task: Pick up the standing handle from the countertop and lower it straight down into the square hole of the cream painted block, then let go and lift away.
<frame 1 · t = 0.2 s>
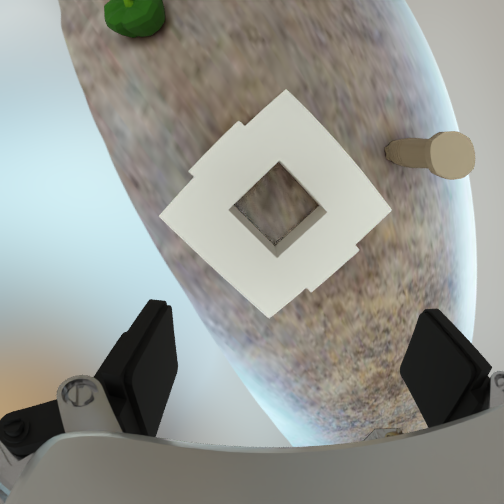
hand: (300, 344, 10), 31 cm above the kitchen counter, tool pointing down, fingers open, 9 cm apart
bell pepper: (148, 23, 30), on the kitchen counter
socket block: (276, 204, 39), on the kitchen counter
handle: (392, 152, 36), on the kitchen counter
coffee box: (381, 434, 56), on the kitchen counter
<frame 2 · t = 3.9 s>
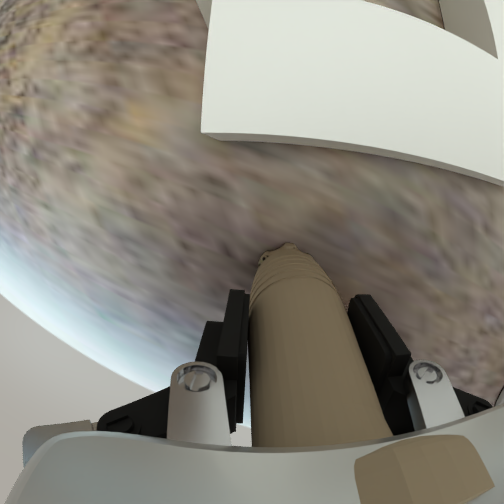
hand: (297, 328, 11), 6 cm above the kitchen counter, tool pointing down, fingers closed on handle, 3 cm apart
socket block: (390, 2, 11), on the kitchen counter
handle: (284, 266, 17), on the kitchen counter, touching gripper
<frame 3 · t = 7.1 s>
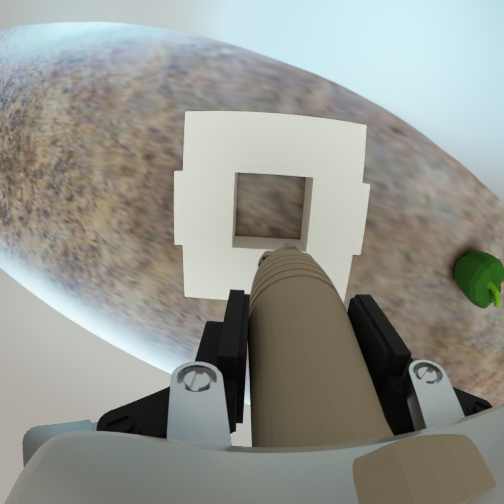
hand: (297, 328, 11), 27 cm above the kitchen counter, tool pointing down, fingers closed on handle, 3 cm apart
bell pepper: (464, 267, 39), on the kitchen counter
socket block: (270, 205, 36), on the kitchen counter
handle: (284, 266, 17), point 21 cm above the kitchen counter, touching gripper
when the fingers open (8 cm above the kitchen counter, at t = 10.5 s): handle drops 1 cm, resting in socket block.
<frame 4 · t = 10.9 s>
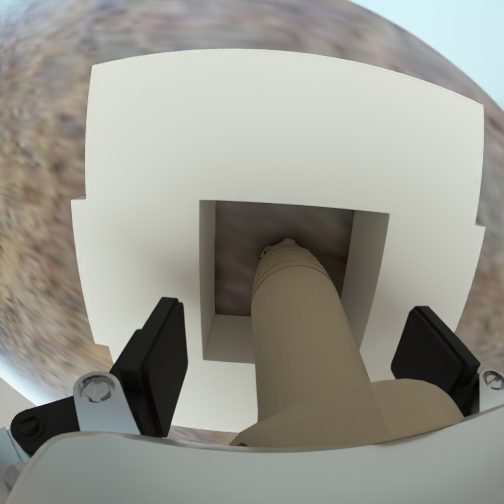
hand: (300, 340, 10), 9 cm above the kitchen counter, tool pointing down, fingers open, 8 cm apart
socket block: (282, 259, 18), on the kitchen counter
handle: (284, 260, 18), resting in socket block
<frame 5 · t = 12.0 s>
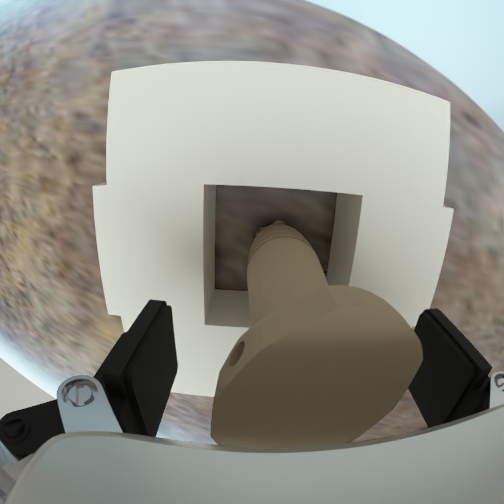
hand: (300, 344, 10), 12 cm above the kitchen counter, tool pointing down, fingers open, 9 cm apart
socket block: (274, 239, 21), on the kitchen counter
handle: (275, 240, 21), resting in socket block
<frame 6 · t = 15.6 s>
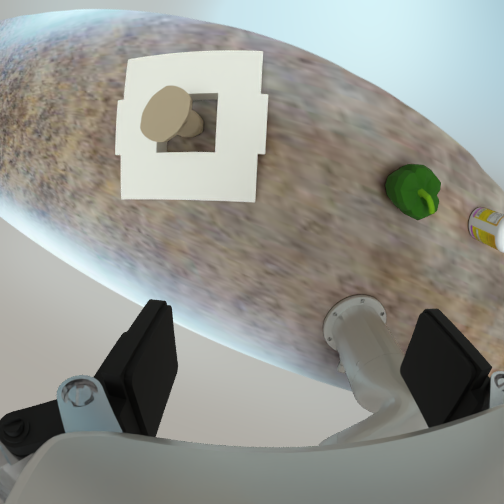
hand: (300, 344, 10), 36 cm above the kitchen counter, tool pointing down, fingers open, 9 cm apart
bell pepper: (399, 186, 43), on the kitchen counter
supplement bottle: (477, 222, 44), on the kitchen counter
socket block: (194, 126, 41), on the kitchen counter
handle: (195, 127, 41), resting in socket block
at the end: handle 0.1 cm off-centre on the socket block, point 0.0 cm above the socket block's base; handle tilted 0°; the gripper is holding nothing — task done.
